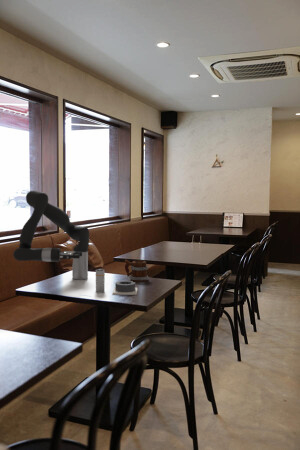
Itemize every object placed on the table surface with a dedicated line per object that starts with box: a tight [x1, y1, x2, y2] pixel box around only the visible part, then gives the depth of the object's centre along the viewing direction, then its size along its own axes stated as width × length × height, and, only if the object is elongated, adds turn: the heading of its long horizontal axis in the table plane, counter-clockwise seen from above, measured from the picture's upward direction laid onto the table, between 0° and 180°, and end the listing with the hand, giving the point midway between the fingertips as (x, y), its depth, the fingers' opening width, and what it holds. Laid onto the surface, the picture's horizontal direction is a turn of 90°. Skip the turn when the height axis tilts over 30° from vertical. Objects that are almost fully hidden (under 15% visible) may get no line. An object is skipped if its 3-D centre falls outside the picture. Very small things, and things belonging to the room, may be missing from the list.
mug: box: [124, 259, 149, 283], centre depth 260 cm, size 12×14×15 cm
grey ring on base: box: [112, 280, 138, 296], centre depth 229 cm, size 13×13×5 cm
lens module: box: [95, 268, 106, 294], centre depth 229 cm, size 5×5×12 cm
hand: (80, 255), depth 228 cm, fingers open, 8 cm apart
